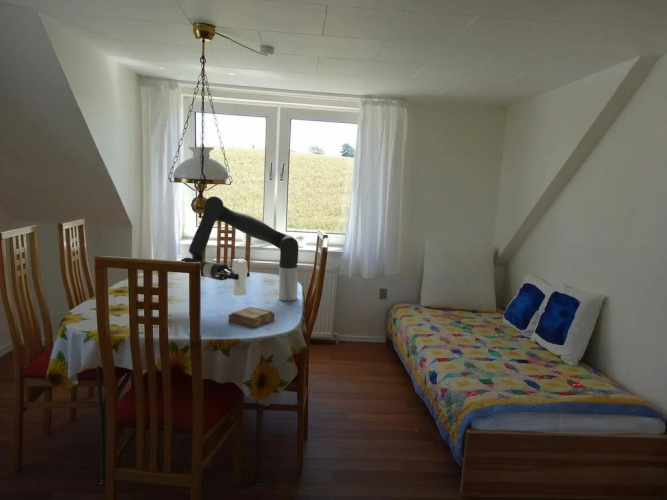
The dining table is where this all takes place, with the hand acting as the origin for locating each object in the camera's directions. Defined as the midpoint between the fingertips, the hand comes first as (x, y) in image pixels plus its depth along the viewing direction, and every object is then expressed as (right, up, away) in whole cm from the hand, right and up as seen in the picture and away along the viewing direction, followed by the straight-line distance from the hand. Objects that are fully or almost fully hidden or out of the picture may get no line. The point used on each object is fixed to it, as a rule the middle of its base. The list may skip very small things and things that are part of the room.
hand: (243, 275), depth 195 cm
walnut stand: (+3, -20, +1) cm, 20 cm away
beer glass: (-2, -8, +2) cm, 9 cm away
